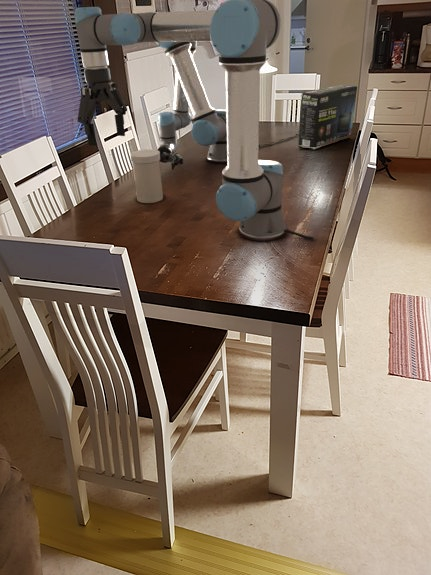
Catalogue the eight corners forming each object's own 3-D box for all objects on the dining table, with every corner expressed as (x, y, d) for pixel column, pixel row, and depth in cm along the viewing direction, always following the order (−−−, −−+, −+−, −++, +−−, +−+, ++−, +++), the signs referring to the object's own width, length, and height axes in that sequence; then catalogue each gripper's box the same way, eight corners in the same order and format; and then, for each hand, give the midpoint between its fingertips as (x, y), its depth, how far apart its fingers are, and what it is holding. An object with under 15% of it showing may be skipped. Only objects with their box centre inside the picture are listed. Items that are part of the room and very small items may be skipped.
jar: (139, 204, 175) (133, 159, 167) (135, 196, 184) (129, 152, 175) (165, 200, 178) (161, 156, 169) (160, 192, 186) (155, 149, 178)
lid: (133, 165, 167) (132, 158, 166) (129, 157, 176) (128, 151, 175) (162, 161, 170) (162, 155, 169) (157, 154, 179) (156, 148, 178)
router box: (314, 151, 231) (318, 94, 217) (296, 148, 237) (299, 92, 224) (352, 138, 251) (358, 85, 238) (335, 135, 258) (340, 83, 245)
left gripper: (192, 160, 213) (186, 175, 195) (139, 160, 215) (128, 175, 197) (191, 144, 209) (185, 157, 191) (137, 144, 211) (126, 157, 193)
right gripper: (114, 63, 147) (123, 131, 158) (55, 72, 129) (70, 148, 140) (132, 63, 144) (140, 132, 155) (75, 72, 126) (88, 150, 137)
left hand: (156, 166), depth 194 cm, fingers open, 13 cm apart
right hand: (107, 140), depth 148 cm, fingers open, 13 cm apart
